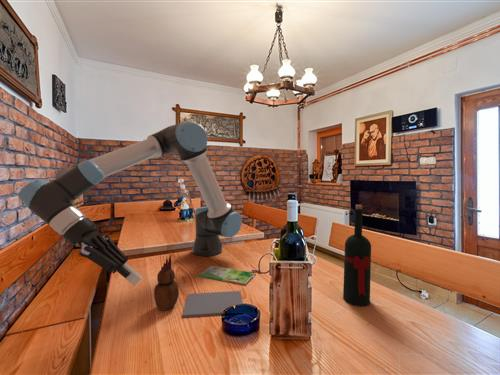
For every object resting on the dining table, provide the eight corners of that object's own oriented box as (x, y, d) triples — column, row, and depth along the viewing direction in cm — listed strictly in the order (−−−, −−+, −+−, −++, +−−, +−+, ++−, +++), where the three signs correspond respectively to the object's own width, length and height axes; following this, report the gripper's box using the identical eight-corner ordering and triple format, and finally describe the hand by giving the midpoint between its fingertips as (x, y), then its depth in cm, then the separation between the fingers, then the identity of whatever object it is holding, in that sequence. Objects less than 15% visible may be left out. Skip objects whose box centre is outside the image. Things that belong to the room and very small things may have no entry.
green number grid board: (245, 287, 86) (256, 276, 95) (245, 283, 86) (256, 272, 95) (198, 277, 94) (212, 268, 103) (198, 274, 93) (212, 265, 103)
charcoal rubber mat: (182, 317, 67) (182, 315, 67) (188, 295, 79) (188, 293, 79) (243, 313, 69) (243, 311, 69) (240, 292, 81) (240, 290, 81)
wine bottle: (347, 309, 71) (350, 207, 69) (340, 292, 81) (342, 203, 79) (376, 312, 69) (379, 208, 68) (365, 294, 79) (368, 203, 78)
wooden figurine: (172, 299, 76) (172, 252, 76) (181, 306, 72) (181, 256, 71) (151, 307, 72) (150, 257, 71) (159, 315, 68) (158, 262, 67)
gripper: (78, 230, 74) (136, 281, 77) (48, 242, 61) (120, 302, 64) (96, 212, 74) (154, 264, 77) (70, 221, 61) (140, 282, 64)
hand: (138, 281), depth 71 cm, fingers closed
